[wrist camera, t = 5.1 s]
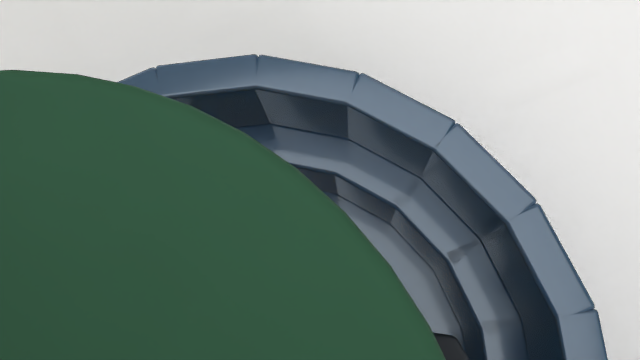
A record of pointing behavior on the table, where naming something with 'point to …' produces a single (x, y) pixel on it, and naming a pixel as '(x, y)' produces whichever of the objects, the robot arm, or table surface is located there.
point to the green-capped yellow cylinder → (176, 239)
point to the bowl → (410, 199)
